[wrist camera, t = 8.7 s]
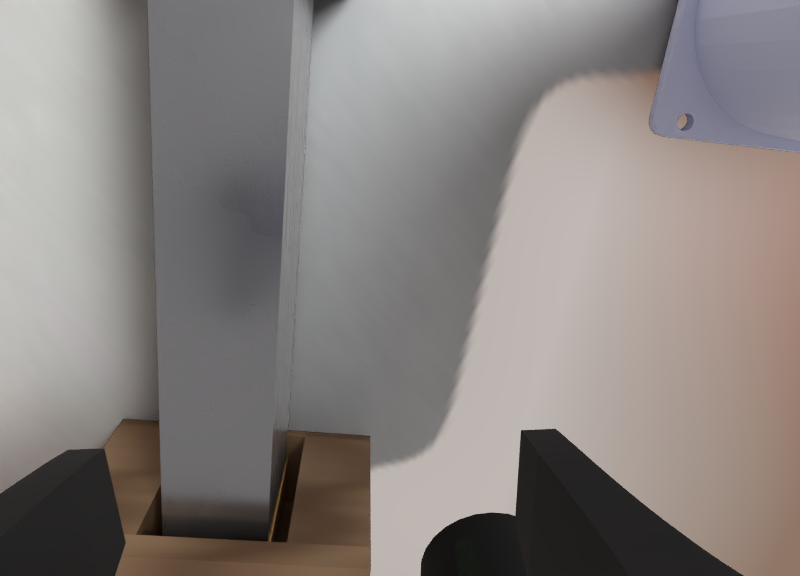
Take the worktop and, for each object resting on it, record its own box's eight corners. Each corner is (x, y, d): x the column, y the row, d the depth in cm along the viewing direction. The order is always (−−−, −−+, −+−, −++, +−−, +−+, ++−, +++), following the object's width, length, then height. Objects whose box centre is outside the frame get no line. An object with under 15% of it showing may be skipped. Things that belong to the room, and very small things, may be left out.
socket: (370, 436, 22) (370, 568, 16) (360, 520, 24) (357, 671, 18) (123, 418, 21) (30, 552, 16) (127, 507, 23) (43, 661, 17)
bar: (319, -61, 16) (301, -107, 12) (286, 484, 22) (266, 584, 18) (202, -77, 16) (139, -131, 11) (202, 479, 22) (161, 579, 18)
